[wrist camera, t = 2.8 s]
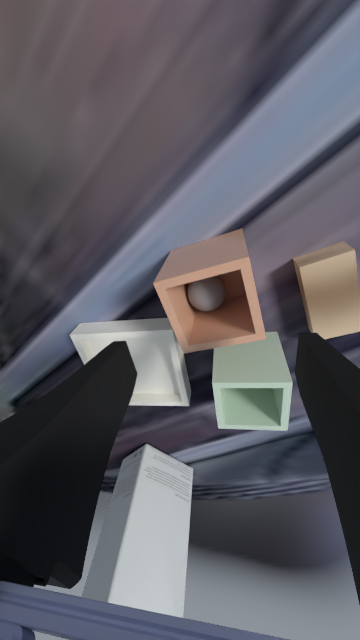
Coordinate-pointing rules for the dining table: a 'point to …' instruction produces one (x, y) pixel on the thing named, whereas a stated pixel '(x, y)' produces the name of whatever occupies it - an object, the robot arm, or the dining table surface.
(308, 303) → the cedar offcut
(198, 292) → the ball
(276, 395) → the pot green
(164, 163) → the dining table surface
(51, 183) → the dining table surface
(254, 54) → the dining table surface
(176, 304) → the pot terracotta
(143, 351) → the tray
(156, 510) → the skincare box
